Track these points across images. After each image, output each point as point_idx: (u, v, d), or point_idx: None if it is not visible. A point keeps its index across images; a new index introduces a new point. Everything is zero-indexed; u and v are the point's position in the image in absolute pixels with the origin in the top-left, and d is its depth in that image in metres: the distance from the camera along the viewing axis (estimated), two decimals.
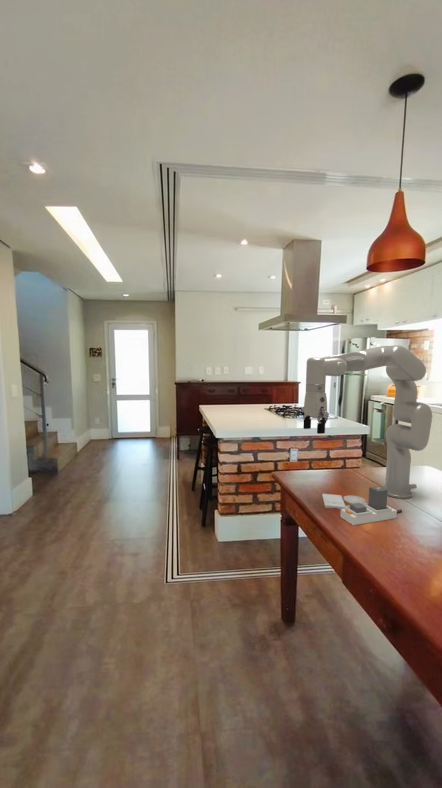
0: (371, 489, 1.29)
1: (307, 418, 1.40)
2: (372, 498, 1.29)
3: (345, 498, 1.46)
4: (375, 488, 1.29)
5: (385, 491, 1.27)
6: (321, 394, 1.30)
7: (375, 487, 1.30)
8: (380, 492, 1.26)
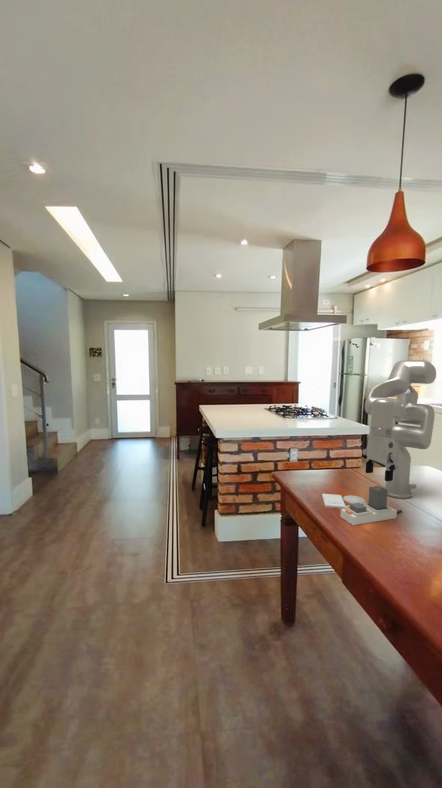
0: (371, 489, 1.29)
1: (369, 462, 1.32)
2: (372, 498, 1.29)
3: (345, 498, 1.46)
4: (375, 488, 1.29)
5: (385, 491, 1.27)
6: (390, 439, 1.23)
7: (375, 487, 1.30)
8: (380, 492, 1.26)
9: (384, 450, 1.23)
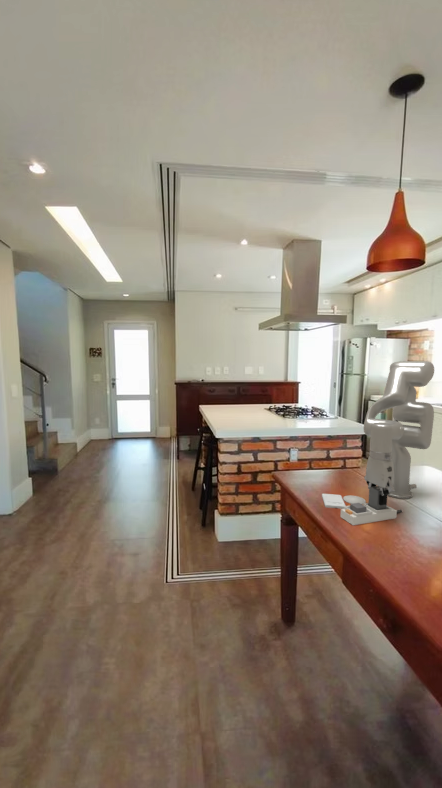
0: (371, 489, 1.29)
1: None
2: (372, 498, 1.29)
3: (345, 498, 1.46)
4: (375, 488, 1.29)
5: None
6: (388, 463, 1.24)
7: (375, 487, 1.30)
8: (380, 492, 1.26)
9: (383, 474, 1.24)
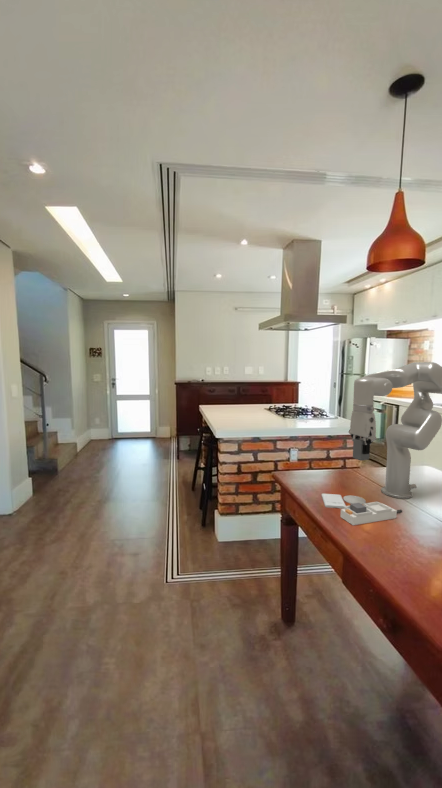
0: (355, 440, 1.40)
1: None
2: (356, 449, 1.39)
3: (345, 498, 1.46)
4: (359, 439, 1.39)
5: None
6: (370, 414, 1.34)
7: (359, 439, 1.40)
8: (363, 442, 1.37)
9: (366, 425, 1.34)
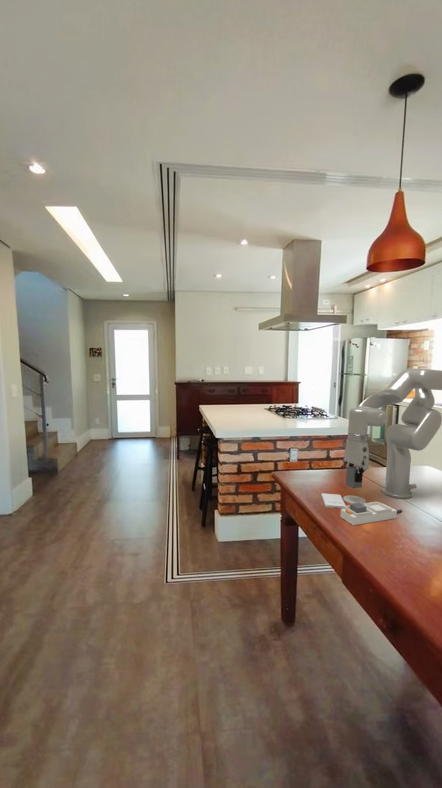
0: (348, 468, 1.43)
1: None
2: (349, 476, 1.43)
3: (345, 498, 1.46)
4: (352, 467, 1.43)
5: None
6: (364, 444, 1.38)
7: (352, 466, 1.44)
8: (356, 470, 1.41)
9: (359, 454, 1.38)
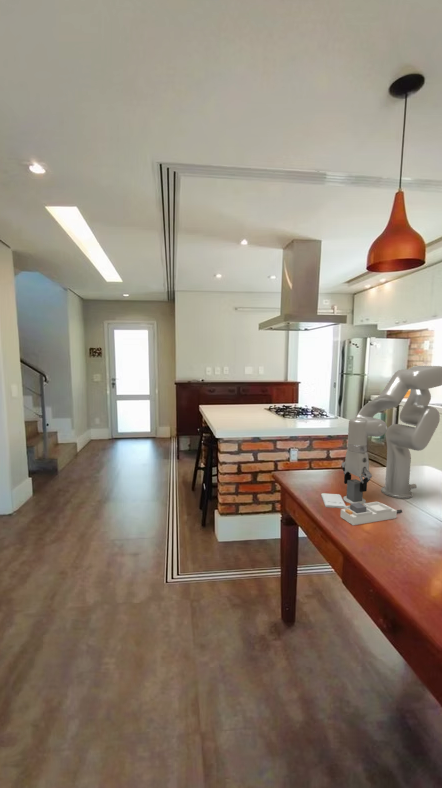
0: (349, 482, 1.44)
1: (347, 474, 1.48)
2: (350, 490, 1.44)
3: (345, 498, 1.46)
4: (352, 481, 1.44)
5: None
6: (363, 455, 1.38)
7: (352, 480, 1.45)
8: (356, 485, 1.41)
9: (359, 465, 1.39)
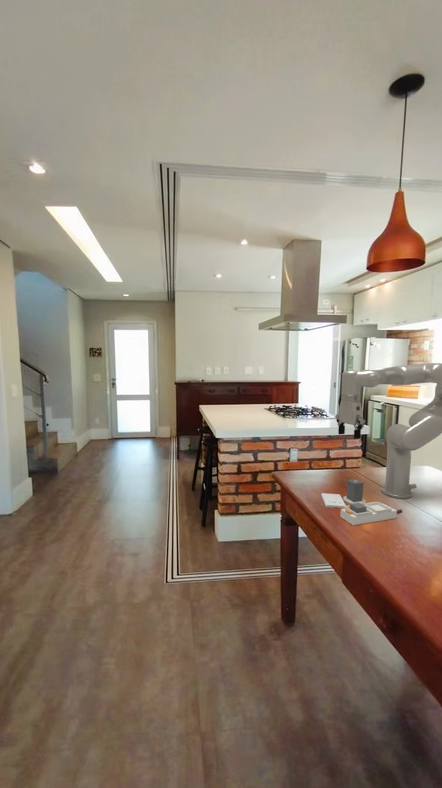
0: (349, 482, 1.44)
1: (341, 424, 1.56)
2: (350, 490, 1.44)
3: (345, 498, 1.46)
4: (352, 481, 1.44)
5: (361, 483, 1.42)
6: (357, 403, 1.46)
7: (352, 480, 1.45)
8: (356, 485, 1.41)
9: (353, 413, 1.46)
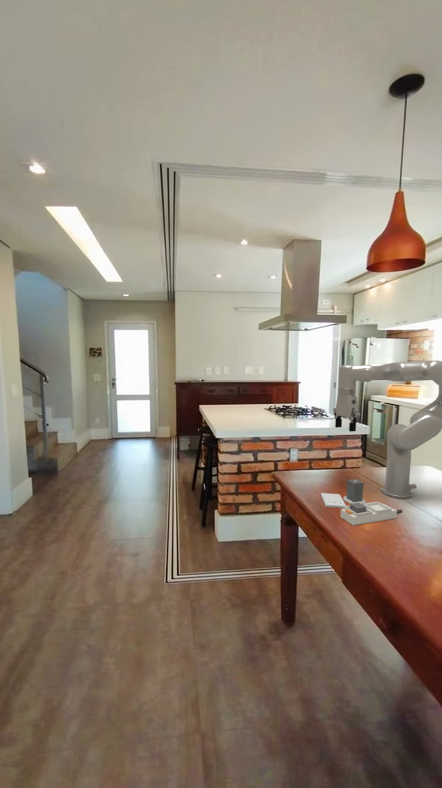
0: (349, 482, 1.44)
1: (338, 418, 1.60)
2: (350, 490, 1.44)
3: (345, 498, 1.46)
4: (352, 481, 1.44)
5: (361, 483, 1.42)
6: (353, 397, 1.50)
7: (352, 480, 1.45)
8: (356, 484, 1.41)
9: (348, 406, 1.50)
